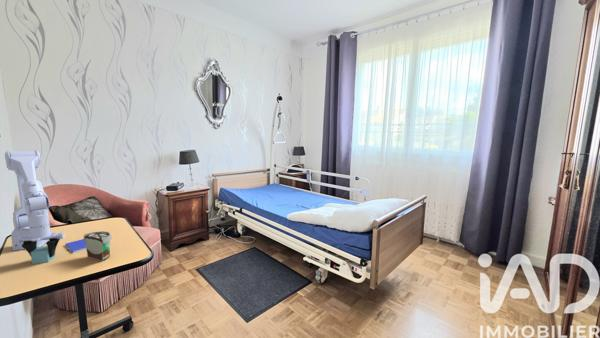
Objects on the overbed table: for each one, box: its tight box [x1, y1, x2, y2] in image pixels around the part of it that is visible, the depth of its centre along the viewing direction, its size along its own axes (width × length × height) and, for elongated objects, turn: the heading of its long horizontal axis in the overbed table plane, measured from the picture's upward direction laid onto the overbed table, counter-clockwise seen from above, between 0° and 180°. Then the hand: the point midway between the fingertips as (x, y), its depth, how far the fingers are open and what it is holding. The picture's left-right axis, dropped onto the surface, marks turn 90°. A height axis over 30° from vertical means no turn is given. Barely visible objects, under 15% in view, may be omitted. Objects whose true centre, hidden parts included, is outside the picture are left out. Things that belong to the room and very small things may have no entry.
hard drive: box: [64, 238, 87, 254], centre depth 116 cm, size 2×8×12 cm
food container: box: [83, 230, 113, 262], centre depth 107 cm, size 12×6×10 cm, turn 71°
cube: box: [30, 245, 56, 265], centre depth 102 cm, size 5×5×5 cm
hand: (43, 256), depth 103 cm, fingers closed on cube, 5 cm apart
